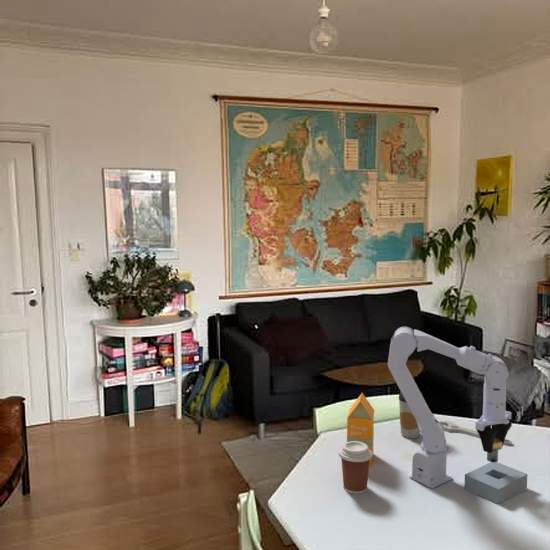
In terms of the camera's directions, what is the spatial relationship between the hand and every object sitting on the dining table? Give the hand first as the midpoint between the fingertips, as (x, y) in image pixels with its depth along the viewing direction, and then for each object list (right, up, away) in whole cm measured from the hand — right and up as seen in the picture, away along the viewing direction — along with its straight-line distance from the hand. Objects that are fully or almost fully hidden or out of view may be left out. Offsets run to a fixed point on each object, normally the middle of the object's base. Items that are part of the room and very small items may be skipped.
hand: (492, 449), depth 144 cm
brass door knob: (0, -3, 0) cm, 3 cm away
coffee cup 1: (-38, -11, 0) cm, 40 cm away
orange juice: (-34, -9, +17) cm, 39 cm away
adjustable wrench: (+7, -8, +35) cm, 37 cm away
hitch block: (0, -10, -1) cm, 10 cm away
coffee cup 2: (-14, -7, +35) cm, 39 cm away
